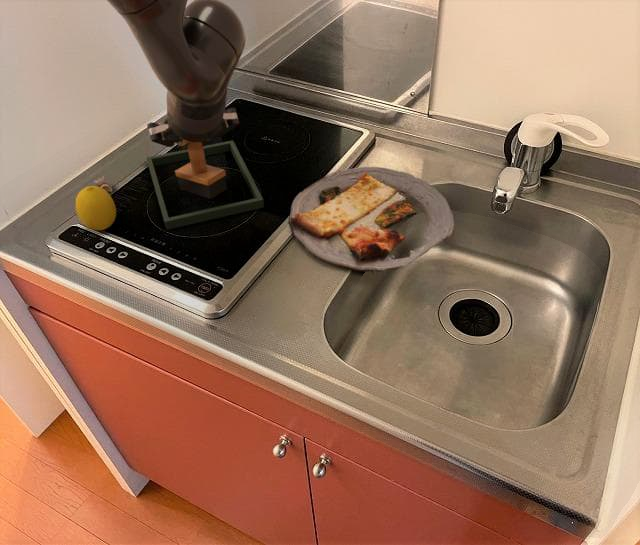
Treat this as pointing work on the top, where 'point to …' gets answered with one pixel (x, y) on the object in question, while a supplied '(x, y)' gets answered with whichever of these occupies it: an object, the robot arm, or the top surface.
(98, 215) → the lemon
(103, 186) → the pale curved piece
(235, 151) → the green rectangular frame
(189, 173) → the brush
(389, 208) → the food plate
